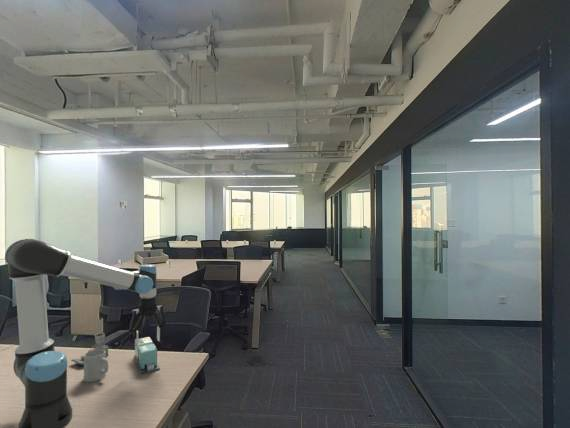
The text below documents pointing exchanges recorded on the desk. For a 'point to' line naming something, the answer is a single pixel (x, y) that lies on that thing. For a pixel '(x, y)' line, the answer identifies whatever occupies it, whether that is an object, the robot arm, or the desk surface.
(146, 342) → the light grey angular piece
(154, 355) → the block
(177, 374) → the desk surface
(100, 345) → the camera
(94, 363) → the mug
